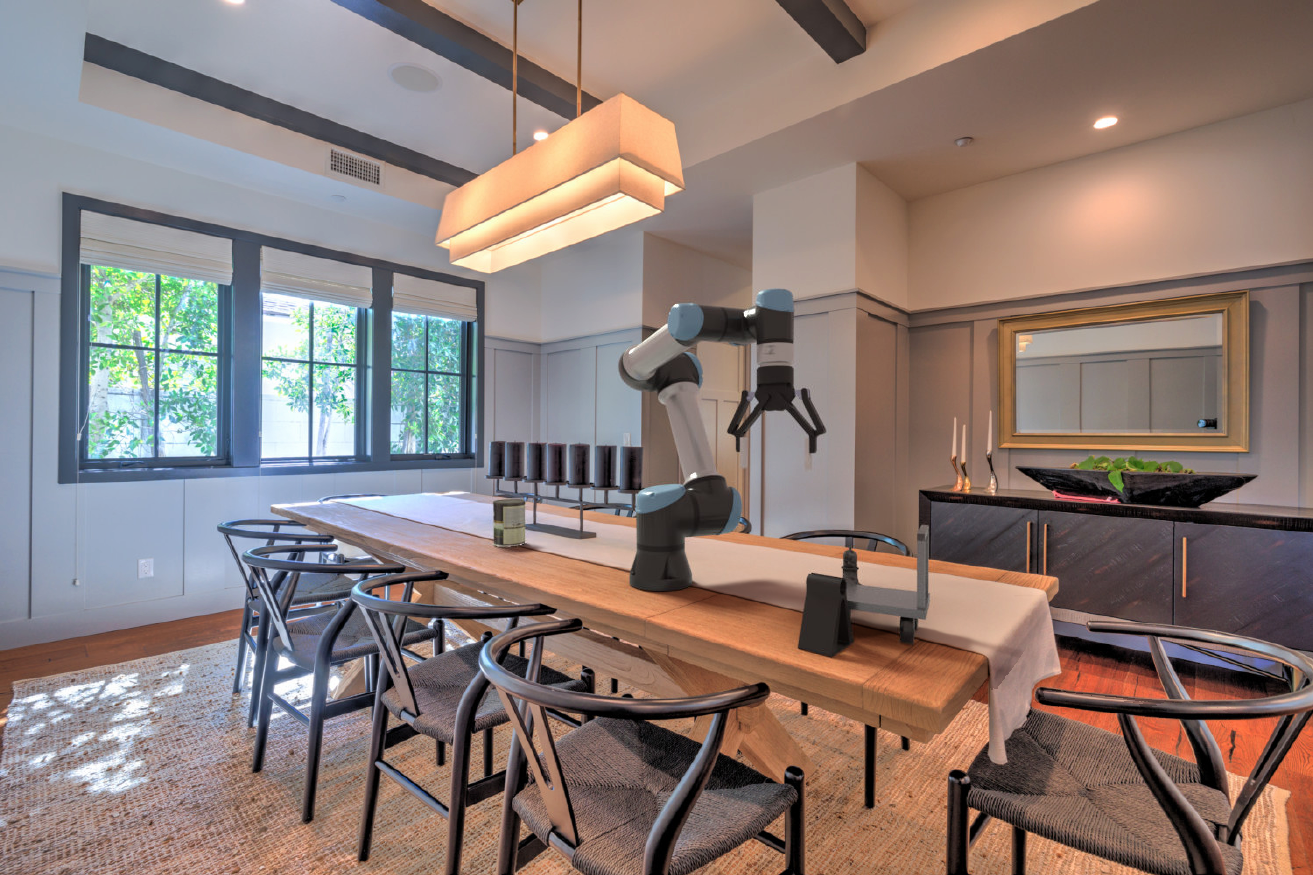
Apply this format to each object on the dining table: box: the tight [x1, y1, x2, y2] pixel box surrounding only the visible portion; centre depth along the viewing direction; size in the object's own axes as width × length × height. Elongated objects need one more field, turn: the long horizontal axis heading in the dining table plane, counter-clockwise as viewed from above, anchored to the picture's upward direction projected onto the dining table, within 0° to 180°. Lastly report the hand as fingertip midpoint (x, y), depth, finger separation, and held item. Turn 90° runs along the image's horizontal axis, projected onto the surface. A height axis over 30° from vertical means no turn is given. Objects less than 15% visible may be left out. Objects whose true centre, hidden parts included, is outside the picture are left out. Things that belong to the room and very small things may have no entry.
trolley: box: [847, 524, 931, 645], centre depth 107 cm, size 18×13×19 cm
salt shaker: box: [841, 546, 863, 585], centre depth 124 cm, size 6×6×12 cm
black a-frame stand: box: [797, 572, 855, 658], centre depth 99 cm, size 9×6×12 cm, turn 138°
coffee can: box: [492, 498, 526, 548], centre depth 189 cm, size 10×10×14 cm
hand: (775, 469), depth 121 cm, fingers open, 13 cm apart
